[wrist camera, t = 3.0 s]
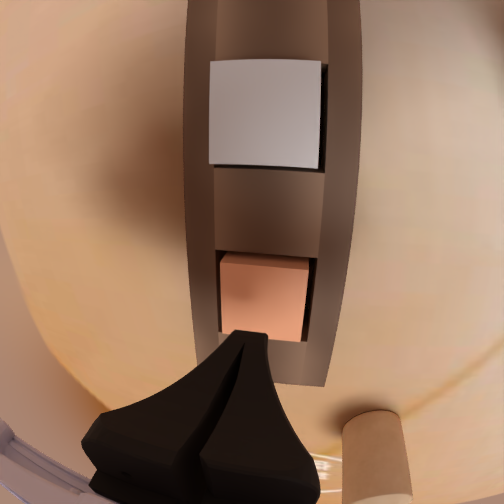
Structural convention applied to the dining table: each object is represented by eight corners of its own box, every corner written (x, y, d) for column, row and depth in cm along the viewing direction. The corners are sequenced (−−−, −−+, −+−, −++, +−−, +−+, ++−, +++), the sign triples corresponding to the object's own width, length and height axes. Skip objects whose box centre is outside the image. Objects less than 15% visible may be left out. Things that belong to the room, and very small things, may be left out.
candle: (396, 438, 23) (407, 525, 14) (341, 446, 25) (340, 535, 16) (404, 404, 22) (422, 504, 12) (341, 413, 23) (341, 517, 14)
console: (340, -79, 10) (343, -108, 6) (323, 352, 21) (324, 386, 18) (217, -76, 11) (201, -103, 8) (212, 339, 22) (198, 371, 19)
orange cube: (308, 244, 17) (308, 270, 14) (302, 307, 19) (300, 342, 16) (235, 238, 18) (219, 262, 15) (236, 301, 20) (222, 333, 16)
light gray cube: (317, 77, 13) (320, 61, 10) (315, 161, 14) (317, 168, 11) (231, 76, 13) (210, 61, 10) (230, 157, 15) (209, 163, 12)
